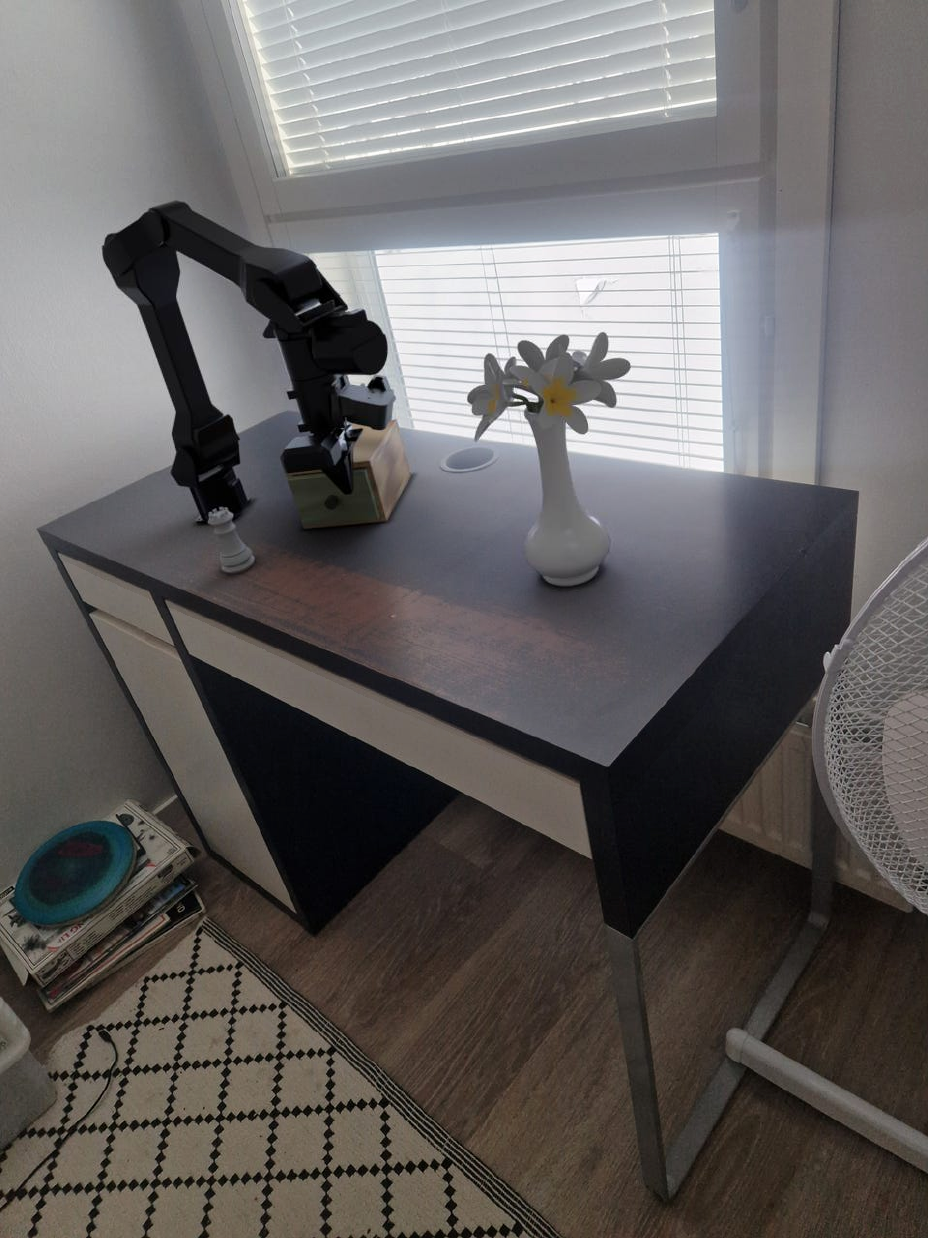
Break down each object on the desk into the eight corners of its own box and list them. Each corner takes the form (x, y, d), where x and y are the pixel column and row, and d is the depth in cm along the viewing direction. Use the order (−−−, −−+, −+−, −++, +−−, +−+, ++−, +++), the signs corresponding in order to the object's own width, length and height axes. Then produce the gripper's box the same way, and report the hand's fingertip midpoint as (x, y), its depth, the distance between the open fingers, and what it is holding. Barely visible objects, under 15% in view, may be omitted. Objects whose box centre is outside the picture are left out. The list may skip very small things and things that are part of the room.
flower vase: (659, 535, 96) (640, 310, 83) (585, 624, 85) (549, 379, 71) (558, 523, 104) (526, 314, 90) (477, 603, 92) (426, 378, 78)
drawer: (376, 524, 111) (362, 475, 108) (300, 531, 114) (283, 484, 111) (402, 477, 123) (390, 431, 119) (332, 484, 126) (318, 440, 122)
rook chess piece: (227, 579, 109) (204, 523, 104) (219, 566, 112) (197, 512, 108) (259, 565, 110) (239, 510, 106) (251, 553, 114) (230, 499, 109)
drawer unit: (386, 521, 114) (369, 460, 109) (303, 529, 117) (284, 470, 112) (411, 475, 125) (397, 418, 120) (335, 484, 128) (318, 429, 123)
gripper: (354, 391, 90) (390, 521, 98) (397, 338, 105) (425, 455, 113) (259, 404, 93) (302, 530, 101) (314, 351, 108) (347, 465, 116)
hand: (349, 493), depth 108 cm, fingers closed
